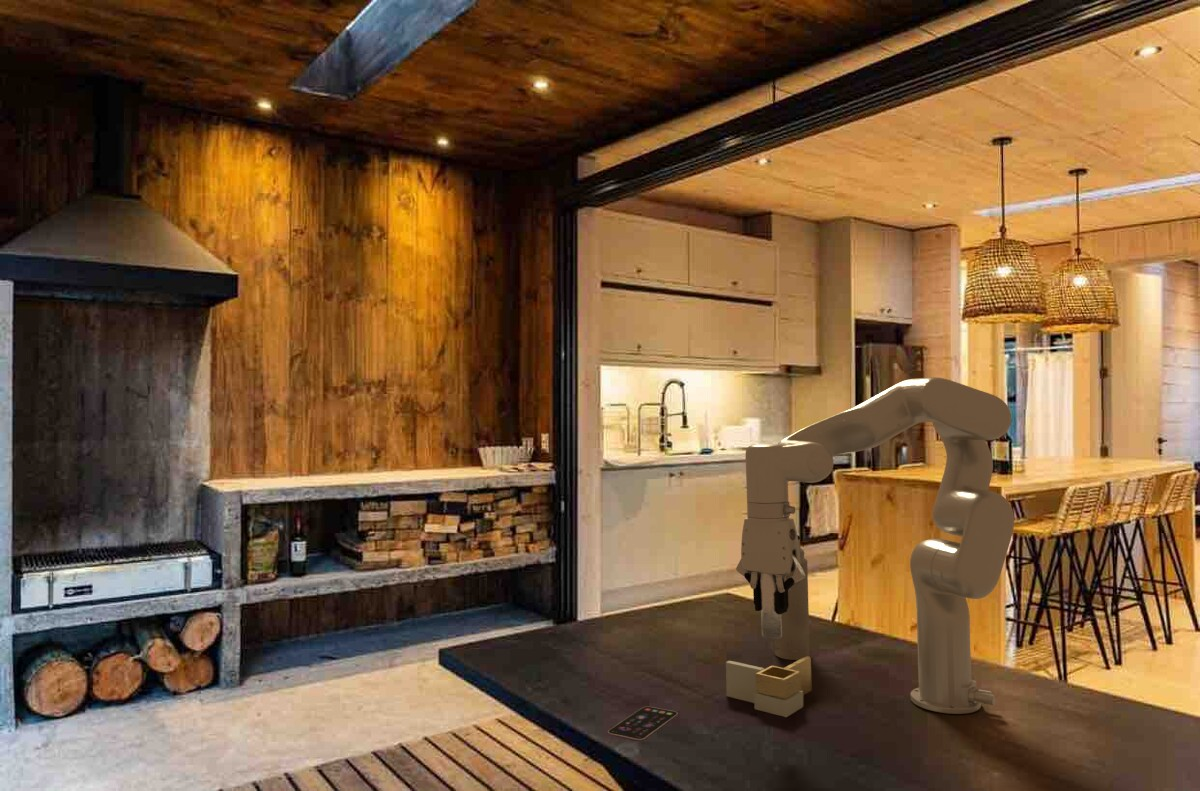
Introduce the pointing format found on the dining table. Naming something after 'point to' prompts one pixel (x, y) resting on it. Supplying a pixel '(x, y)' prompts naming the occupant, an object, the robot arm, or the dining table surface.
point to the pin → (769, 607)
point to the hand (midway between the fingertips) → (771, 610)
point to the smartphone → (643, 723)
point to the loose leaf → (744, 688)
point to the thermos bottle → (795, 619)
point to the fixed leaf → (785, 679)
